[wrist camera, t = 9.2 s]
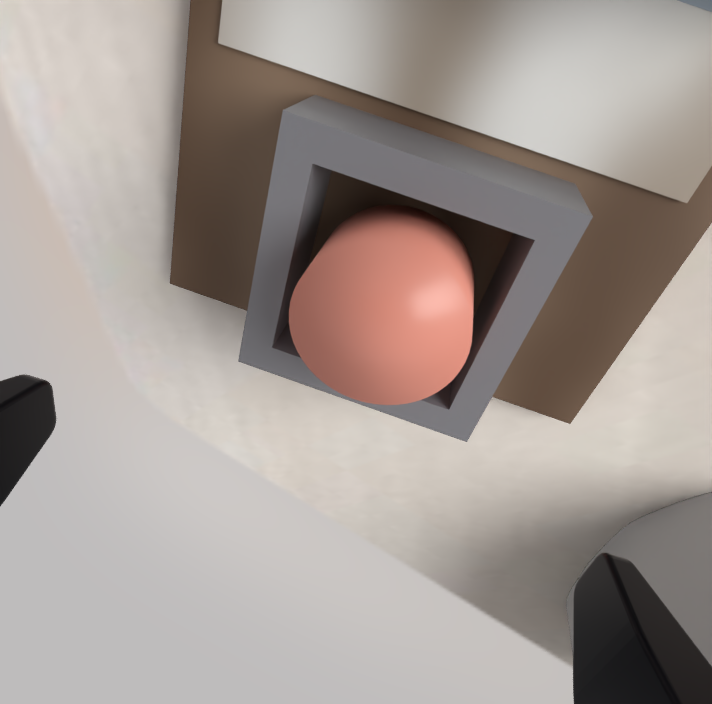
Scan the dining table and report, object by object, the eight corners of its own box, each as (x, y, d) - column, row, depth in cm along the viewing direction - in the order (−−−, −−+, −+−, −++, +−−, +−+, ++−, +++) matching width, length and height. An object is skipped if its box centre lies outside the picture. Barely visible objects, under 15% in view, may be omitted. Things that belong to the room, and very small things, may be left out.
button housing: (575, 183, 15) (592, 216, 13) (468, 388, 20) (466, 441, 17) (314, 94, 15) (282, 110, 13) (268, 318, 20) (238, 361, 17)
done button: (501, 237, 15) (504, 282, 12) (440, 368, 17) (433, 426, 15) (339, 181, 15) (310, 215, 12) (303, 320, 17) (274, 371, 15)
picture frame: (1289, -643, 8) (1389, -725, 7) (567, 410, 20) (571, 428, 19) (284, -949, 8) (260, -1066, 7) (179, 274, 21) (166, 286, 20)
